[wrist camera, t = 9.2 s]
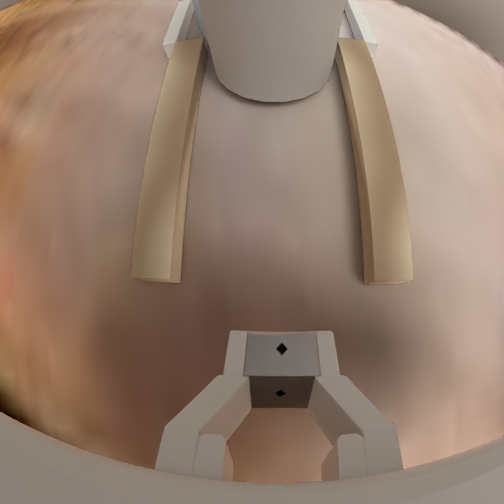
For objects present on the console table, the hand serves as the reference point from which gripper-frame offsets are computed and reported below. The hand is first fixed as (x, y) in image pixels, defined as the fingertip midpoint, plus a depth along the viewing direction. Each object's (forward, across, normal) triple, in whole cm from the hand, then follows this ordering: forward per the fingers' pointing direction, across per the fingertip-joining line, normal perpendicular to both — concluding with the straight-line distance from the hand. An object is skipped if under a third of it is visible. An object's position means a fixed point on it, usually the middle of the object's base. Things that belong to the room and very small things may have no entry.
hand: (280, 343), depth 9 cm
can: (+15, 0, -8) cm, 17 cm away
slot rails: (+11, 0, -4) cm, 12 cm away
